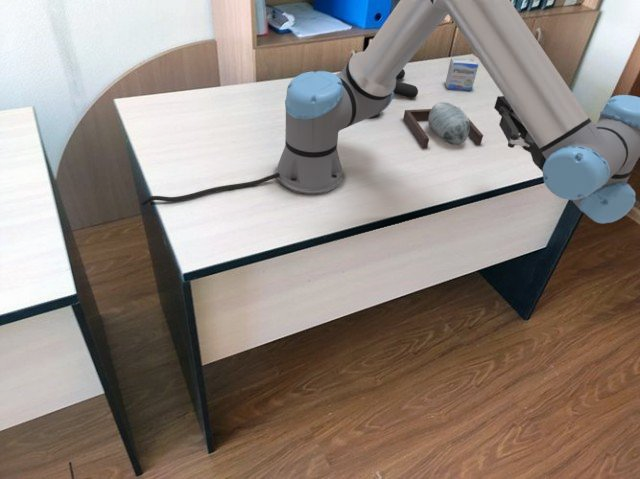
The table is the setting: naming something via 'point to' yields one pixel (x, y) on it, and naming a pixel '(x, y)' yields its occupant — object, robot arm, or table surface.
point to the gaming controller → (404, 87)
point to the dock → (423, 115)
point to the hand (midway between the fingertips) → (499, 102)
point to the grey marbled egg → (449, 123)
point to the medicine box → (461, 74)
